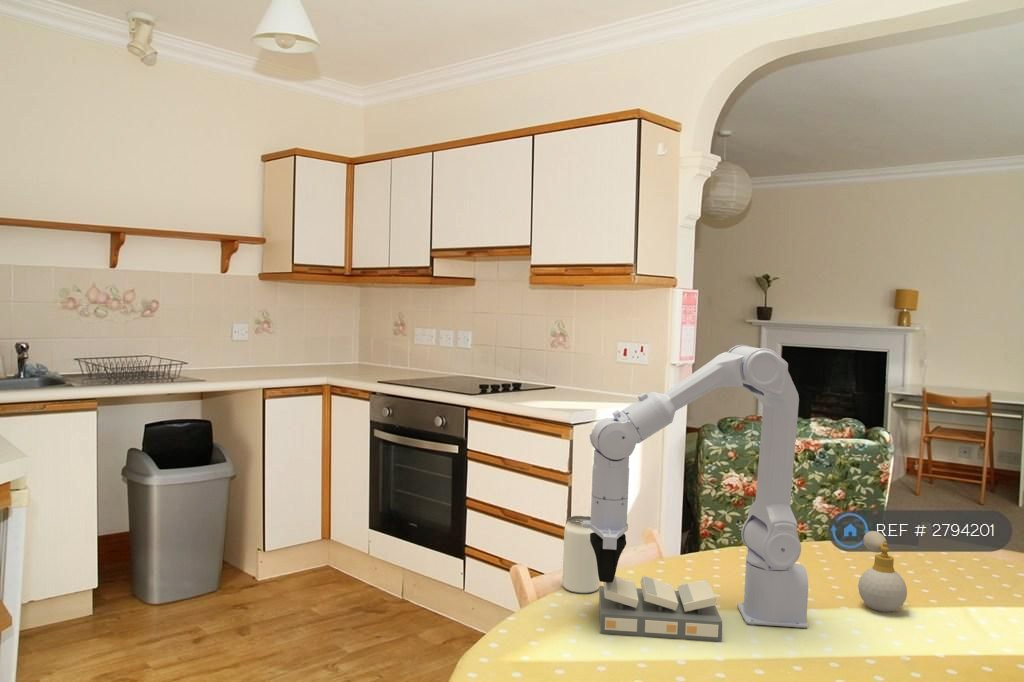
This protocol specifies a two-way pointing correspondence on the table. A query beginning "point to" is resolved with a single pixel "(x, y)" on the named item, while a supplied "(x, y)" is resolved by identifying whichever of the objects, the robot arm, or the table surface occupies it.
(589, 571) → the can
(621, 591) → the rocker
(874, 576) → the perfume bottle
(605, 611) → the switch box
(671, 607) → the rocker mid
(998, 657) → the table surface
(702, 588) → the rocker
